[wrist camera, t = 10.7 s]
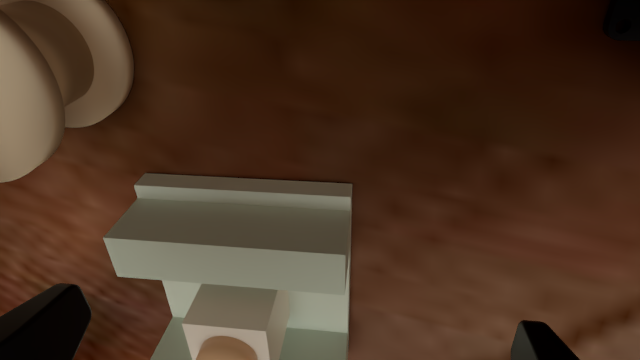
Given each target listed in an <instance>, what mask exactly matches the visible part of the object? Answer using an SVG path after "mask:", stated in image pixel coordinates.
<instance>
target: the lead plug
mask: <svg viewBox="0 0 640 360" xmlns="http://www.w3.org/2000/svg"><path fill="white" fill-rule="evenodd" d="M289 315H290V309H289V297H288V291H287V290H275V289H263V288H251V287H239V286H226V285H214V284H201V286H200V288H199V290H198V292H197V294H196V296H195V298H194V300H193V302H192V304H191V306H190V308H189V310H188V312H187V314H186V316H185V318H184V320H183V322H182V326H183V330H184V333H185V337H186V340H187V343H188V347H189V350H190V354H191V357H192V360H279V357H280V353H281V349H282V345H283V341H284V336H285V332H286V328H287V324H288V320H289Z"/></svg>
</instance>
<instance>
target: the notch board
mask: <svg viewBox="0 0 640 360" xmlns="http://www.w3.org/2000/svg"><path fill="white" fill-rule="evenodd" d="M134 187H135V191H136V194H137V198H138V199H137V200H136V201H135V202H134V203H133V204H132V205H131V207H130V208H129V209H128V210H127V211H126V212H125V213H124V214H123V216H122V217H121V218H120V219H119V220H118V221H117V222H116V224H115V225H114V226H113V227H112V228H111V229H110V230H109V232H108V233H107V234H106V235H105V236H104V237H103V239H104V242H105V244H106V247H107V250H108V252H109V255H110V258H111V260H112V263H113V266H114V269H115V271H116V274H117V276H118V277H130V278H142V279H154V280H162V282H163V285H164V288H165V292H166V295H167V298H168V302H169V305H170V308H171V312H172V315H173V318H172V320H171V321H170V323H169V325H168V327H167V329H166V331H165V333H164V335H163V337H162V338H161V340H160V342H159V344H158V346H157V348H156V350H155V352H154V354H153V356H152V357H151V359H150V360H192V357H191V354H190V350H189V347H188V343H187V340H186V337H185V333H184V330H183V326H182V322H183V320H184V318H185V316H186V314H187V312H188V310H189V308H190V306H191V304H192V302H193V300H194V298H195V296H196V294H197V292H198V290H199V288H200V286H201V284H214V285H226V286H239V287H251V288H263V289H275V290H287V291H288V297H289V309H290V315H289V320H288V324H287V328H286V332H285V336H284V341H283V345H282V349H281V353H280V357H279V360H348V346H349V304H350V262H351V220H352V184H347V183H327V182H308V181H288V180H269V179H249V178H230V177H210V176H191V175H171V174H152V173H145V174H144V175H143V176H142V177H141V178H140V179H139V180H138V181H137V182H136V183H135V185H134Z"/></svg>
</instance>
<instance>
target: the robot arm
mask: <svg viewBox="0 0 640 360" xmlns="http://www.w3.org/2000/svg"><path fill="white" fill-rule="evenodd" d="M623 19H625V20H626V24H625V26H624V28H622V29H621V30H619V31H616V30H615V29H616V25H617V23H618V22H619V21H621V20H623ZM603 30H604V33H605V34H606V35H607V36H608V37H610V38H612V39H614V40H631V41H640V0H611V3H610V6H609V9H608V12H607V16H606V19H605V22H604V27H603ZM90 320H91V309H90V306H89V304H88V302H87V300H86V298H85V296H84V294H83V292H82V290H81V288H80V287H79V286H78V285H75V284H64V283H60V284H56V285H54V286H52V287H51V288H49V289H47V290H45V291H44V292H42V293H40V294H38V295H37V296H35V297H33V298H32V299H30V300H28V301H26V302H25V303H23V304H21V305H19V306H18V307H16V308H14V309H13V310H11V311H9V312H7V313H6V314H4V315H2V316H0V360H73V358H74V356H75V354H76V351H77V349H78V347H79V345H80V343H81V340H82V338H83V336H84V334H85V331H86V329H87V327H88V325H89V323H90ZM511 360H580V359H579V358H578V357H577V356H576V355H575V354H574V353H573V352H572V351H571V350H570V349H569V348H568V346H567V345H566V344H565V343H564V342H563V341H562V340H561V339H560V338H559V337H558V336H557V335H556V333H555V332H554V331H553V330H552V329H551V328H550V327H549V326H548V325H547V324H545V323H544V322H540V321H528V320H523V321H521V322H520V323H519V324H518V327H517V331H516V334H515V337H514V341H513V344H512V348H511Z"/></svg>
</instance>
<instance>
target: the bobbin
mask: <svg viewBox="0 0 640 360" xmlns="http://www.w3.org/2000/svg"><path fill="white" fill-rule="evenodd" d="M133 79H134V59H133V54H132V49H131V46H130V42H129V39H128V37H127V34H126V32H125V30H124V28H123V26H122V24H121V22H120V21H119V19H118V17H117V16H116V14H115V13H114V11H113V10H112V9H111V7H110V6H109V5H108V4H107V2H106V1H105V0H0V182H7V181H12V180H15V179H18V178H20V177H22V176H24V175H26V174H28V173H29V172H31V171H32V170H33V169H35V168H36V167H38V166H39V165H40V164H42V163H43V162H44V161H46V160H47V159H48V158H50V157H51V156H52V155H53V154H54V152H55V151H56V150H57V148H58V147H59V145H60V143H61V141H62V137H63V134H64V129H65V127H70V128H77V127H85V126H90V125H93V124H96V123H97V122H99V121H101V120H103V119H104V118H106V117H107V116H108V115H110V114H111V113H113V112H114V111H115V110H117V109H118V108H119V107H120V106H121V105H122V104H123V103H124V102H125V100H126V98H127V97H128V95H129V93H130V90H131V88H132V84H133Z"/></svg>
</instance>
